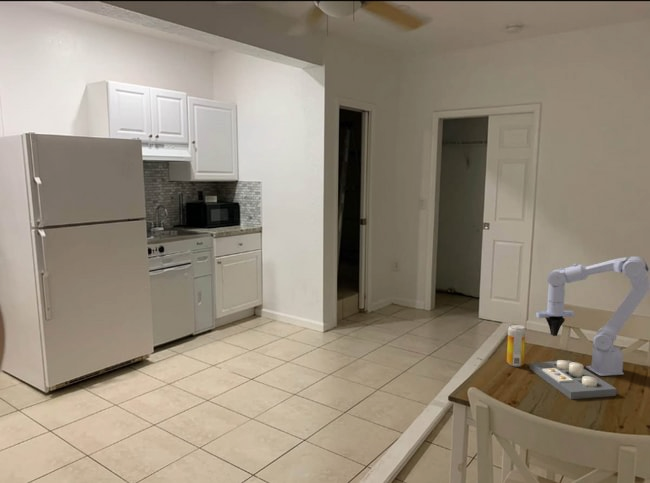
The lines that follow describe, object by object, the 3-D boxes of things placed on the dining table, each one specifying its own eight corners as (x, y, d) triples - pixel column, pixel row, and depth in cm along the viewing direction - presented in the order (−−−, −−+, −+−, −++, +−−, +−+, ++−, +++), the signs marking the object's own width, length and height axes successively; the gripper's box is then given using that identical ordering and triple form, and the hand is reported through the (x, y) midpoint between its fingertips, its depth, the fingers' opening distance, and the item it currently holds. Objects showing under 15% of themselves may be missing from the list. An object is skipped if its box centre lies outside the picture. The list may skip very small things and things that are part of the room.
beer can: (520, 361, 181) (522, 324, 179) (525, 367, 175) (527, 329, 173) (504, 360, 182) (506, 323, 180) (509, 367, 176) (511, 329, 174)
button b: (577, 372, 165) (578, 361, 165) (585, 377, 161) (586, 366, 160) (565, 372, 165) (566, 362, 164) (573, 378, 160) (574, 367, 160)
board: (569, 366, 176) (569, 360, 175) (616, 395, 152) (616, 388, 152) (529, 368, 174) (530, 362, 174) (570, 399, 150) (571, 392, 150)
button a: (564, 369, 172) (565, 359, 172) (572, 374, 168) (572, 364, 168) (553, 370, 172) (554, 360, 171) (561, 375, 168) (561, 365, 167)
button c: (590, 386, 159) (591, 375, 158) (599, 392, 154) (600, 381, 154) (578, 387, 158) (579, 376, 158) (587, 392, 154) (587, 382, 153)
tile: (555, 369, 167) (555, 367, 167) (573, 381, 157) (573, 379, 157) (542, 370, 167) (542, 368, 167) (559, 382, 157) (559, 380, 157)
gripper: (566, 297, 183) (564, 330, 185) (532, 299, 181) (530, 332, 183) (578, 302, 176) (576, 336, 178) (542, 304, 174) (540, 338, 176)
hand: (553, 335), depth 180 cm, fingers closed
